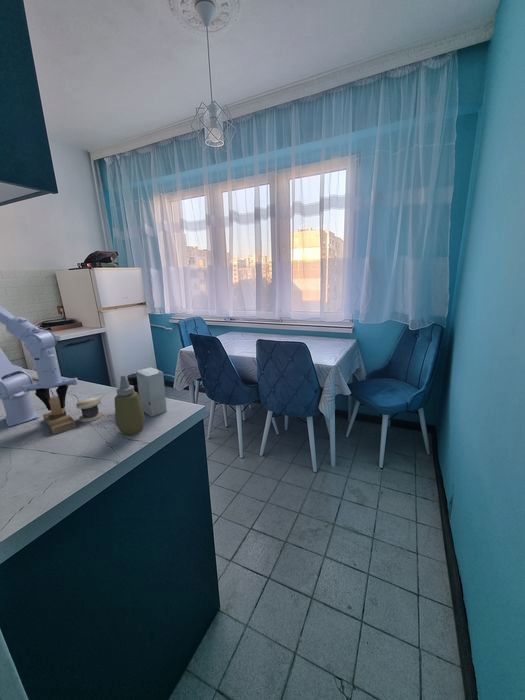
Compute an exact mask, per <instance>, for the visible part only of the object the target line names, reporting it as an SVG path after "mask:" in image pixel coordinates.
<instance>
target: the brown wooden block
mask: <svg viewBox="0 0 525 700" xmlns="http://www.w3.org/2000/svg"><path fill="white" fill-rule="evenodd" d="M48 401H49V405H50V408H51V410H50V412H51V413H52V416H54V415H59V414H63V413H64V411H66V408H65V407H66V406H65V407H64V408H61V406H60V400H59V397H58V395H56V396H54V395H53V396H50V399H49V400H48Z"/></svg>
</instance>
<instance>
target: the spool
mask: <svg viewBox="0 0 525 700" xmlns="http://www.w3.org/2000/svg"><path fill="white" fill-rule="evenodd" d="M100 404H101V399H100V398H98V397H90V398H89V397H88V398H86V399H82V400H80V401H79V402H77V403H76V405H75V406H76V408H77V409H79V410H80V411H81V415H80V416H79V418H78V419H79V420H78V421H80V422H81V423H90V422H94V421H96V420H99V419H102V417H103V416H104V413H103V411H102V410H99V407H98V406H99V405H100Z"/></svg>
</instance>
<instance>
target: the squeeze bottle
mask: <svg viewBox="0 0 525 700" xmlns="http://www.w3.org/2000/svg"><path fill="white" fill-rule="evenodd" d="M127 380H128V379H127V377H126V375H125V374H124V375H121V376H120V383H119V384H120V386H118V387H117V388H116V395H115V396H114V397H113V399H114V413H115V414H114V415H115V425H116V427H117V428H118V430H119V432H120V433H121V434H122V435H123V436H125V437H129V436H130V437H131V436H135V435H137V434H139V433H141V432H142V431H143V429H144V423H145V419H146V417H145V414H144V413H145V412H143V409H142V405H141V402H140V398H139V395H138V393H137V392H135V391H134V386H133V385H129V383H128V381H127Z"/></svg>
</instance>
